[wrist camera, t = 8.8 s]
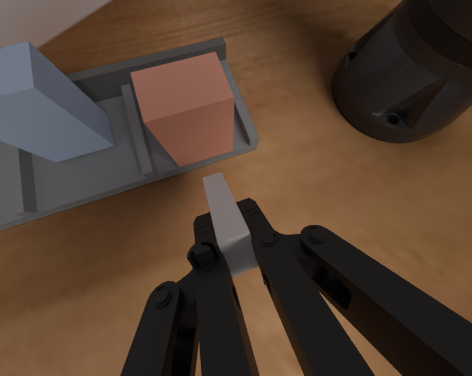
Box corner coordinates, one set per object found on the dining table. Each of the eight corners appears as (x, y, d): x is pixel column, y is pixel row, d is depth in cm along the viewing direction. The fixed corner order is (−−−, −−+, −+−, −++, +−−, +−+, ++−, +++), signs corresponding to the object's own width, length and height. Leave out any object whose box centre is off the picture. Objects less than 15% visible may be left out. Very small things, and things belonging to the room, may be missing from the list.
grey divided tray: (223, 72, 24) (222, 37, 19) (255, 149, 21) (262, 128, 17) (-76, 151, 20) (-163, 128, 15) (-80, 256, 17) (-184, 265, 13)
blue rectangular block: (107, 115, 20) (28, 41, 12) (114, 145, 19) (34, 87, 11) (52, 130, 19) (-70, 62, 11) (56, 162, 18) (-72, 113, 11)
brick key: (221, 120, 20) (215, 51, 12) (232, 150, 19) (234, 97, 12) (170, 135, 19) (130, 72, 12) (179, 167, 19) (143, 122, 11)
